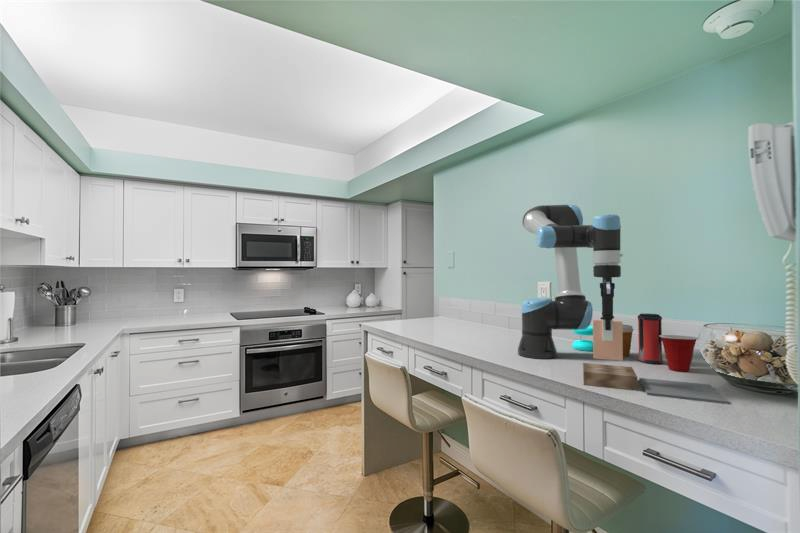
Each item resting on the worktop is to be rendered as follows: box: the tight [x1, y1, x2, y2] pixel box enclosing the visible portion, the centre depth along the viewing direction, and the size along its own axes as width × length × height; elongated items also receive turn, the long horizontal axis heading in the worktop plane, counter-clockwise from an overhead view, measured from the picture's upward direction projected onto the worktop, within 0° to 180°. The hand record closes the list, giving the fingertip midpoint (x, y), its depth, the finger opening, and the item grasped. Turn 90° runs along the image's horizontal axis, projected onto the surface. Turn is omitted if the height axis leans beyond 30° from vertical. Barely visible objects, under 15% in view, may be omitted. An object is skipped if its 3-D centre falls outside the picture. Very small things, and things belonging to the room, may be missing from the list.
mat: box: [638, 377, 730, 405], centre depth 109 cm, size 18×16×1 cm
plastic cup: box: [659, 334, 698, 373], centre depth 132 cm, size 11×11×12 cm
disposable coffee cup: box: [622, 323, 635, 358], centre depth 155 cm, size 10×10×12 cm
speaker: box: [637, 313, 663, 365], centre depth 143 cm, size 8×8×18 cm
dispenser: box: [582, 362, 638, 391], centre depth 118 cm, size 14×12×4 cm
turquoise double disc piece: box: [571, 325, 593, 352], centre depth 167 cm, size 10×10×10 cm
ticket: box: [592, 319, 624, 362], centre depth 118 cm, size 8×1×12 cm, turn 64°
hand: (607, 339), depth 118 cm, fingers closed on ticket
